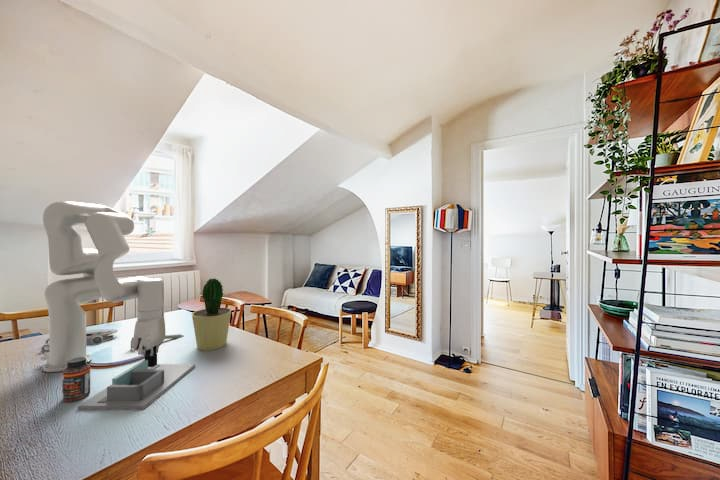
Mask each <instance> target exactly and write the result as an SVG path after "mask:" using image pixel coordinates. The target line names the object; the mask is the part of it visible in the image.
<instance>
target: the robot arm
mask: <svg viewBox="0 0 720 480" xmlns="http://www.w3.org/2000/svg"><path fill="white" fill-rule="evenodd" d="M42 213H43V214H42V222H43V223H42V224H43V227H44V229H45V232H46V235H47V240H48V243H47V245H48V261H49V263H48V264H49V269H50V272H51V273H52V274H54V275H55V276H73V275H74V276H75V275H83V276H82V277H80V276H79V277H74V278H73V277H72V278H66V279H65V278H64V279H60V280H57V281H56V280H55V281H54V282H51V283H50V284H48V285H47V287H46V288H45V289H44V298H45V302H46V305H47V310H48V327H49V328H48V329H49V330H48V332H49V337H48V338H49V341H48V343H49V352H44V355H42V356H41V357H40V361H46V363H45V364H44V365H43V367H42V370H43V372H46V373H58V372H63V370H64V369H65V368H67V367H68V366H67V362H68V361H69V360H70V359H73V358H77V357H86V363H87V361H88V360H89V359H91V357H92V358H93V356H92V355H91V354H87V345H86V331H87V315H86V311H85V310H84V309H83V307H81V305H80V304H82V303H85V302H91V301H94V300H95V301H96V300H98V299H101V298H103V299H104V300H105V301H107V302H109V303H115V304H116V303H121V302H126V301H129V300H133V299H137V302H136V303H137V305H136V306H137V309H136V310H137V316H136V317H137V320H136V321H135V324H134V325H135V326H134V330H133V337H134V339H133V350H134V351H137V355H138V356H143V357H144V360H148V367H154V366H155V365H157V364H158V353H159V348H160V346H161V345H162V344H163V343H164V341H165V340H166V339H165V335H166V322H165V321H166V320H165V281H164V280H163V279H162V278H158V277H156V278H155V277H153V278H152V277H145V276H133V277H126V278H120V279H119V278H117V276H116V274H115V272H114V262H115V260H117V259H120V258H121V257H123V256H126V254H128V252H129V251H130V246H129V244H128V242H127V240H126V237H125V236H128V235H131V234H132V233H133V232H134V229H135V223H134V220H133V219H132V218H131V216H129V215H128V214H126V213H124V212H122V211H119V210H116V209H114V208H112V207H110V206H106V205H103V204H96V203H89V202H88V203H87V202H79V201H70V200H69V201H65V200H64V201H62V200H61V201H55V202H52V203H50V204H49V205H48V206H46V208H45V209H44V210H43V212H42ZM74 226H85V227H86V230H87V232H88V234H89V236H90V238H91V241H92V243H93V244H94V247H95V248H83V245H82V236H81V234H80V233H79V232H78V230H76V228H75V227H74Z"/></svg>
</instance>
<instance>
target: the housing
mask: <svg viewBox="0 0 720 480" xmlns="http://www.w3.org/2000/svg"><path fill="white" fill-rule="evenodd" d="M195 367H196V364H194V363H193V364H192V363H191V364H190V363H189V364H188V363H157V365H155V366H154V367H148V370H134V371H132V382H131V383H129V384H128V385H112V384H109V385H108V386H107V387H106V388H104V389H102V390H101V391H99V392H98V393H96V394H94V395H93V396H91V397H90V398H88V399H87V400H85V401H83V402H82V403H80V404H78V405H77V410H145V409H147V408H148V407H149V406H150V405H151V404H152V403H153V402H154V401H156V400H158V399H159V398H160V397H161V396H162V395H163V394H165V392H166V391H168V390H169V389H170V388H172V387H173V386H175V384H176V383H177V382H179V381H180V380H181V379H183V378H184V377H185V376H186V375H187V374H188V373H190V372H191V371H192V370H194V369H195Z"/></svg>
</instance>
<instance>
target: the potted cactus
mask: <svg viewBox="0 0 720 480" xmlns="http://www.w3.org/2000/svg"><path fill="white" fill-rule="evenodd" d="M204 283H205V284H204V285H203V287H202V290H201V292H200V294H199V296H200V297H201V299H203V300H201V302H202V303H203V304H202V305H204V308H202V309H199V310H195V311H193V312H192V313H191V317H192V324H193V330H194V336H195V343H196V347H197V349H198V350H200V351H213V350H217V349H220V348H222V347H225V346H226V345H227V341H228V334H229V329H230V328H229V327H230V321H231V315H232V308H229V307H221V306H222V305H223V302H222V300H223V297H225V296H226V293H225V292H224V286H223V284H222V281H220V280H219V279H217V278H209V279H207V280H206V281H204ZM223 292H224V293H223Z"/></svg>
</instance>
